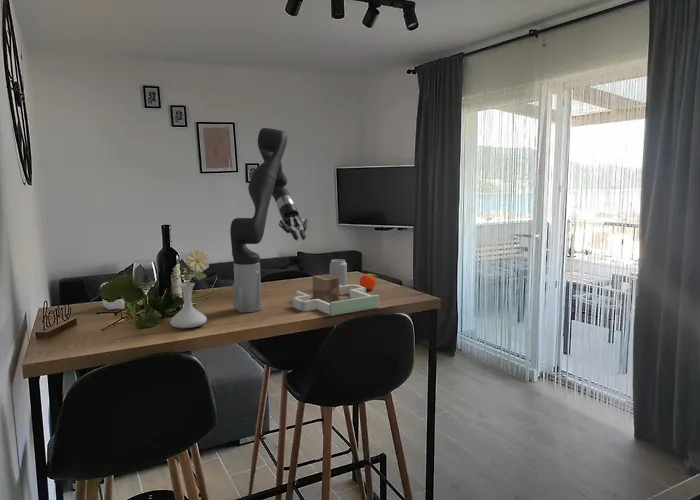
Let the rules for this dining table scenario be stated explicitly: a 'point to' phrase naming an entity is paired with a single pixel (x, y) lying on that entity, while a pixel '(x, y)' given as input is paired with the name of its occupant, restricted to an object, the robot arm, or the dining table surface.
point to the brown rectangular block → (326, 288)
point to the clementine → (368, 281)
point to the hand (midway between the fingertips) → (300, 238)
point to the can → (339, 271)
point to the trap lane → (338, 307)
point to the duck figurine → (113, 303)
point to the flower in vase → (188, 313)
